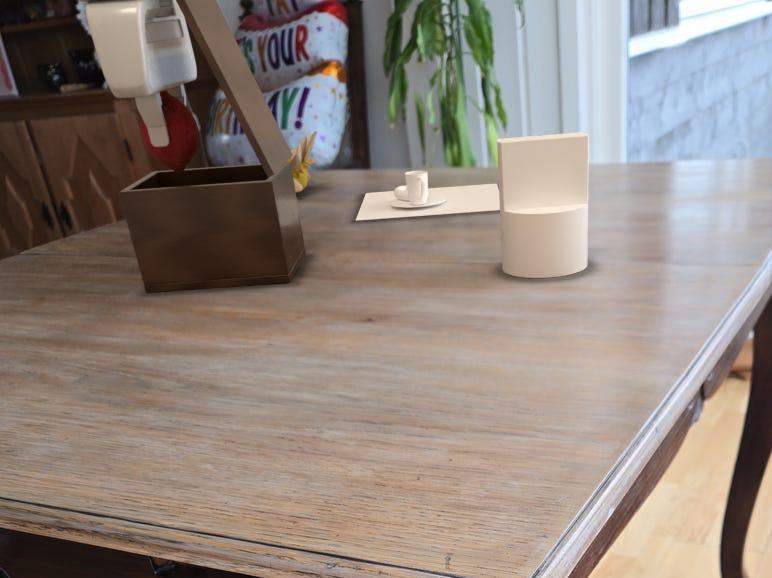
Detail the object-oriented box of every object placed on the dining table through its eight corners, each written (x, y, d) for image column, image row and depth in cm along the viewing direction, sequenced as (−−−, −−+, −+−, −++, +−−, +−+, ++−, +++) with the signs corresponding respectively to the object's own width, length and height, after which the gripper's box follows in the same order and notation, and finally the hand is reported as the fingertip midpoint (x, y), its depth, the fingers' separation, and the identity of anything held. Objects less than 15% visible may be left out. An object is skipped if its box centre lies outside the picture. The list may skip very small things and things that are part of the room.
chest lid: (171, -8, 80) (178, -13, 80) (203, -8, 90) (209, -12, 90) (267, 177, 89) (274, 174, 89) (286, 158, 99) (293, 155, 99)
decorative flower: (254, 173, 146) (255, 104, 139) (323, 187, 146) (327, 119, 140) (230, 199, 134) (229, 125, 128) (304, 214, 135) (307, 141, 129)
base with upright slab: (506, 281, 90) (501, 147, 83) (498, 259, 98) (492, 135, 91) (594, 273, 91) (596, 139, 84) (579, 253, 98) (580, 128, 91)
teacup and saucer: (391, 200, 129) (388, 169, 127) (446, 196, 129) (443, 165, 127) (388, 212, 122) (384, 179, 120) (446, 208, 122) (443, 175, 120)
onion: (207, 173, 92) (187, 83, 88) (150, 179, 92) (127, 88, 87) (207, 165, 97) (188, 79, 92) (152, 170, 96) (131, 84, 91)
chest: (145, 292, 95) (118, 192, 90) (175, 263, 106) (152, 171, 100) (290, 282, 95) (272, 181, 89) (306, 254, 105) (290, 161, 100)
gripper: (132, -22, 93) (167, 130, 101) (62, -24, 76) (111, 157, 84) (192, -26, 93) (222, 126, 101) (135, -30, 76) (177, 153, 84)
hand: (171, 140), depth 93 cm, fingers closed on onion, 6 cm apart
